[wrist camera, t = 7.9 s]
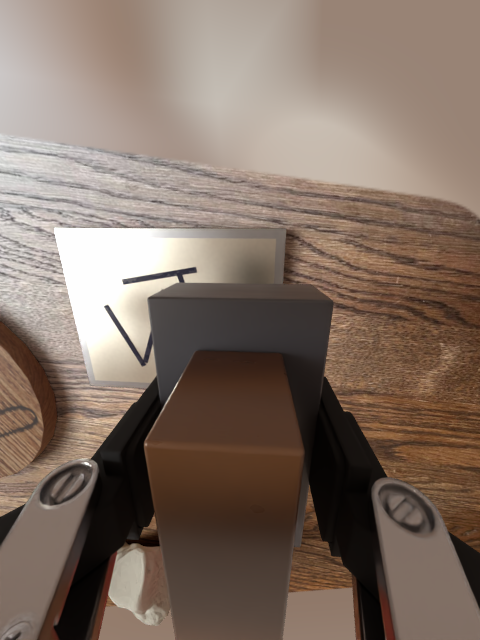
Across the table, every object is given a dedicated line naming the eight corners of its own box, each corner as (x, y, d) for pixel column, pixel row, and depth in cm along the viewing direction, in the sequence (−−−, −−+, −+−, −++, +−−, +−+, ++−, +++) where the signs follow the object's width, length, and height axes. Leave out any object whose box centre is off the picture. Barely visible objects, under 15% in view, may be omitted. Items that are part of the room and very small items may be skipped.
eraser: (176, 282, 9) (36, 351, 3) (312, 284, 8) (422, 364, 3) (192, 478, 12) (137, 684, 6) (291, 485, 11) (325, 708, 6)
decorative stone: (90, 548, 34) (82, 628, 25) (151, 501, 38) (163, 556, 29) (123, 600, 36) (127, 691, 27) (178, 550, 40) (197, 615, 31)
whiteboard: (285, 229, 20) (286, 228, 19) (274, 389, 25) (275, 395, 24) (62, 228, 21) (52, 227, 20) (96, 380, 26) (89, 386, 25)
